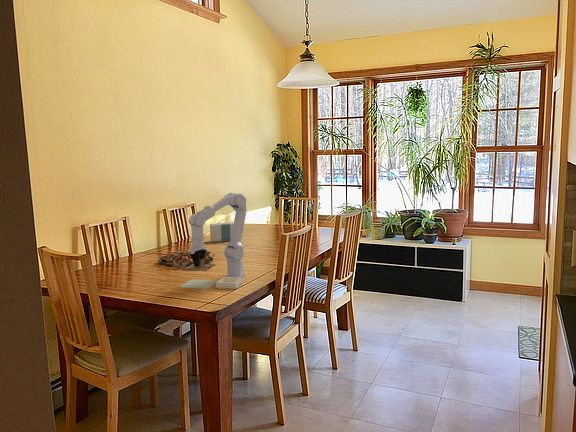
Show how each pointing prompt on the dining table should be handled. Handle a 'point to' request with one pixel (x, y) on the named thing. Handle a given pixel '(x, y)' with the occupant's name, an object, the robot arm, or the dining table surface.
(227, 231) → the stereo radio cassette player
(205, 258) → the food dish
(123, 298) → the dining table surface
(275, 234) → the dining table surface
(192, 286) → the beige flat square piece
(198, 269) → the lid
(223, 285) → the white square tray
